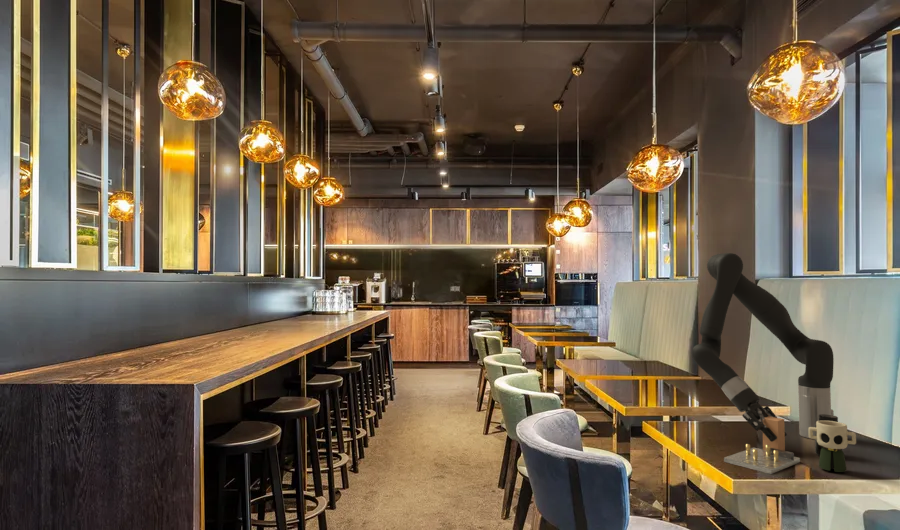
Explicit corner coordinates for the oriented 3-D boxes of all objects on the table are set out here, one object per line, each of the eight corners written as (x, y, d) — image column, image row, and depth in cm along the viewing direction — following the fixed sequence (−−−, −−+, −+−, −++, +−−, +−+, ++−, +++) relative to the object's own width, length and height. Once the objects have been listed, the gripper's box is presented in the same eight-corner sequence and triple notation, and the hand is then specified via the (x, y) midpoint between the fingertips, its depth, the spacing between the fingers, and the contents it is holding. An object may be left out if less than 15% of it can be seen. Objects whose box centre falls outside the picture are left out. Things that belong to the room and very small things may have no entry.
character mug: (808, 469, 153) (807, 422, 153) (809, 463, 158) (808, 418, 159) (857, 477, 146) (855, 428, 147) (856, 470, 152) (855, 423, 153)
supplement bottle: (834, 460, 162) (833, 419, 162) (810, 454, 168) (809, 414, 168) (847, 457, 165) (846, 416, 165) (823, 451, 171) (822, 412, 171)
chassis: (753, 451, 170) (753, 437, 170) (799, 462, 160) (799, 447, 160) (723, 461, 160) (723, 447, 160) (771, 474, 149) (770, 458, 149)
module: (769, 448, 174) (769, 416, 174) (784, 451, 170) (784, 419, 171) (762, 450, 171) (762, 418, 172) (778, 454, 167) (777, 421, 168)
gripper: (737, 389, 173) (778, 435, 163) (758, 384, 182) (799, 428, 172) (720, 403, 177) (759, 448, 167) (742, 398, 186) (781, 441, 176)
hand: (779, 438), depth 169 cm, fingers open, 6 cm apart
